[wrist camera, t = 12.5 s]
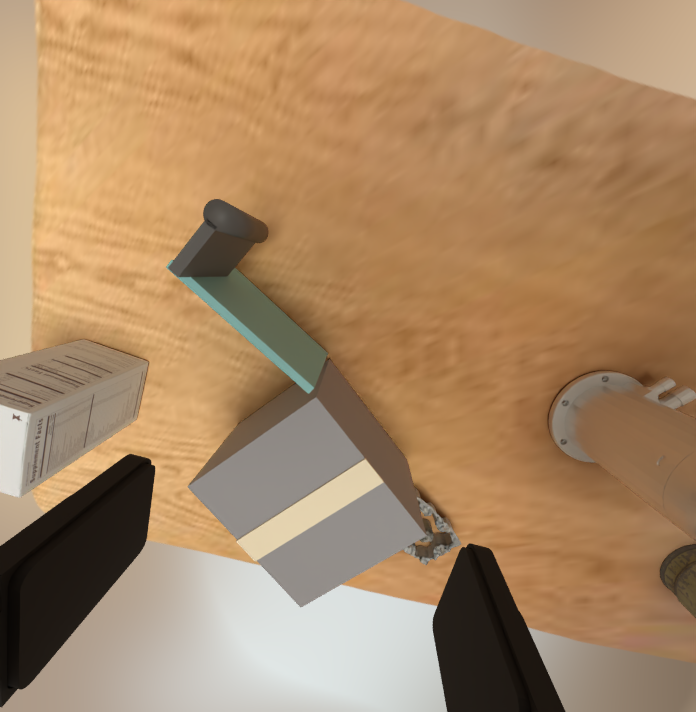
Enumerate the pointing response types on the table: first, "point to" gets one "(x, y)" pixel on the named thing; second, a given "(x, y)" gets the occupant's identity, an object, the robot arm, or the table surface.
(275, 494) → the carton
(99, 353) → the supplement box
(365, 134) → the table surface
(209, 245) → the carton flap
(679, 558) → the thermos
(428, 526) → the egg carton
